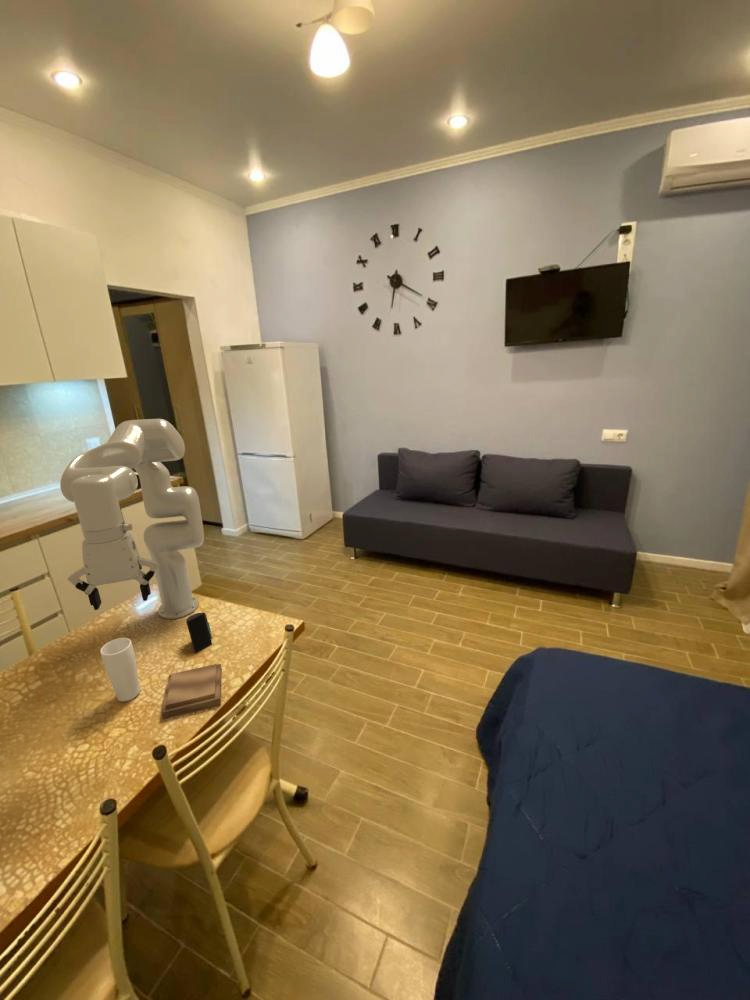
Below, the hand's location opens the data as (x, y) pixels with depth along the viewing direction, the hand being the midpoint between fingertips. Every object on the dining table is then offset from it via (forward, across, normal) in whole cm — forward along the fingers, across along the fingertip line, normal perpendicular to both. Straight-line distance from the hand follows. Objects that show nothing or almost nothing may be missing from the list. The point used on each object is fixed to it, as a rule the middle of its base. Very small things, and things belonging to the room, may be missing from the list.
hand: (122, 602), depth 95 cm
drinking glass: (+29, +5, -5) cm, 30 cm away
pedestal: (+29, -11, 0) cm, 31 cm away
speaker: (+29, -11, -20) cm, 38 cm away
